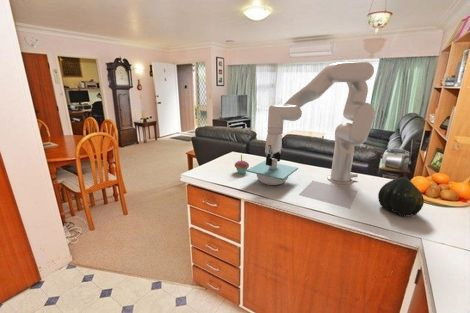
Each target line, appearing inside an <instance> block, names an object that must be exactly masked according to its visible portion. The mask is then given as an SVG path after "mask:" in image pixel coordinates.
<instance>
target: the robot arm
mask: <svg viewBox="0 0 470 313" xmlns="http://www.w3.org/2000/svg"><path fill="white" fill-rule="evenodd" d="M374 72H375V68H374V65H373V64H372V63H370V62H368V61H355V62H354V61H353V62H352V61H351V62H347V61H344V62H341V61H340V62H335V63H330V64H328V65H326V66H325V67H324V68H323V69H322V70H320V72H318V73H317V75H315V77H314V78H312V79H311V80H310V81H309V83H307V85H305V86H303V88H301V89H300V90H299V91H297V92H296V93H294V94H293V95H292V96H291V97H290V98H289V99H288V100H286V102H285V103H284V104H283V105H280V104H271V105H269V107H268V119H267V134H266V139H265V146H264V148H265V149H264V154H265V161H266V165H268V166H272V159H277V162H281V153H282V146H283V144H282V143H283V140H282V138H283V136H282V135H283V132H284V122H285V121H289V122H296V121H298V120H299V119H300V118H301V117H302V115H303V111H302V109H301V108H302V107H303V106H304V105H306V104H308V103H310V102H313V101H315V100H317V99H319V98H320V97H322V96H323V94H324V93H326V92H327V91H328V90H329V89H330V88H331V87H332V86H333V85H334V84H335V83H346V85H347V87H348V93H347V98H346V101H345V105H344V109H343V114H342V115H343V117H344V118H345V119H346V120H347V121H351V122H342V123H339V124H338V125H337V127H336V128H335V130H334V150H333V151H334V152H333V156H332V157H333V158H332V163H331V164H332V165H331V171H330V172H331V173H330V174H329V175H328V176H327V177H326V178H327V180H328V181H329V182H331V183H334V184H337V185H350V184H352V183H353V178H358V177H359V176H358V174H357V173H352V165H353V160H354V155H355V146H360V145H362V144H364V143H365V142H366V141H367V139H368V137H369V134H370V131H371V128H372V124H373V122H374V119H375V116H376V115H375V113H376V112H375V108H374V106H373V105H372V103H369V102H367V96H368V93H369V87H368V84H367V81H369V80H371V78H372V77H373V75H374Z"/></svg>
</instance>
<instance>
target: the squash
mask: <svg viewBox="0 0 470 313" xmlns="http://www.w3.org/2000/svg"><path fill="white" fill-rule="evenodd" d="M377 194H378V195H377V196H378V197H377V198H378V202H379V205H380V206H381V208H383V209H386V210H387V211H391V212H392V211H393V212H394V213H397V214H398V215H399V216H400V217H401V216H402V217H408V216H414V215H417V214H418V213H419V212H420V211H421V210H423V209H422V208H423V206H424V203H425V199H424V195H423V193H422V192H421V190H420V189H419V188H418V187H417V186H416V185H415V184H414V183H413V182H412V181H411V180H410V179H409V178H407V177H406V176H401V177H398V178H395V179H392V180H390V181H388V182H386V183H385V184H384V185H382V187H380V190H379V191H378V193H377Z"/></svg>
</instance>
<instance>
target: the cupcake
mask: <svg viewBox="0 0 470 313" xmlns="http://www.w3.org/2000/svg"><path fill="white" fill-rule="evenodd" d="M234 167H235V169H236V172H237V173H238V174H240V175H245V174H246V173H247V172H246V170H247V169H249V168H250V164H249V162H247V161H245V160H243V155H242V153H241V154H240V160H238V161H236V162H235V163H234Z"/></svg>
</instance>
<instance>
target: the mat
mask: <svg viewBox="0 0 470 313" xmlns="http://www.w3.org/2000/svg"><path fill="white" fill-rule="evenodd" d="M357 193H358V190H356V189H352V188H347V187H342V186H339V185H334V184H329V183H324V182H321V181H315V180H312V181H311V182H310V183H309V184H308V185H307V186H305V188H303V190H302V191H301V192H299V194H298V196H301V197H305V198H309V199H312V200H317V201H320V202H324V203H328V204H332V205H335V206H340V207H343V208H348V209H351V207H352V205H353V202H354V200H355V198H356V195H357Z"/></svg>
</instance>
